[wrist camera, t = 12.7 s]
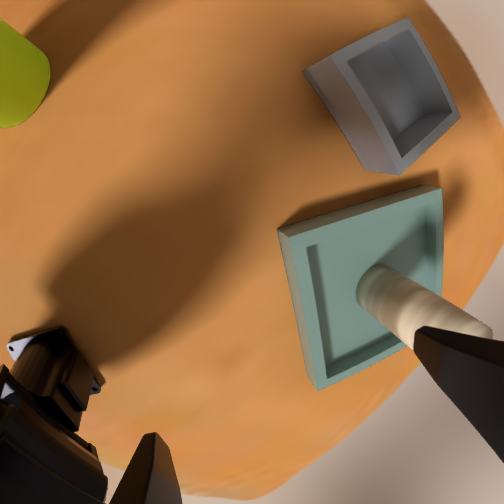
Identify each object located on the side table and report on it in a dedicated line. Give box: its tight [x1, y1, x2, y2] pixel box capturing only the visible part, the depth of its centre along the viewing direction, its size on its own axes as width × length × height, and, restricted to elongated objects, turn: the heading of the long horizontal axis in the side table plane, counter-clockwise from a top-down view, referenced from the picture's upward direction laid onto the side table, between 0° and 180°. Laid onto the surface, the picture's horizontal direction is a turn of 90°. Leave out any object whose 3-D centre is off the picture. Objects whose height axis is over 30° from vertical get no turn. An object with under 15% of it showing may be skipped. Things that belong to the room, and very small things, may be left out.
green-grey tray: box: [277, 185, 444, 391], centre depth 23 cm, size 14×14×2 cm
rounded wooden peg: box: [356, 264, 493, 351], centre depth 18 cm, size 4×4×11 cm
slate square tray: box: [302, 17, 460, 175], centre depth 18 cm, size 9×9×4 cm
